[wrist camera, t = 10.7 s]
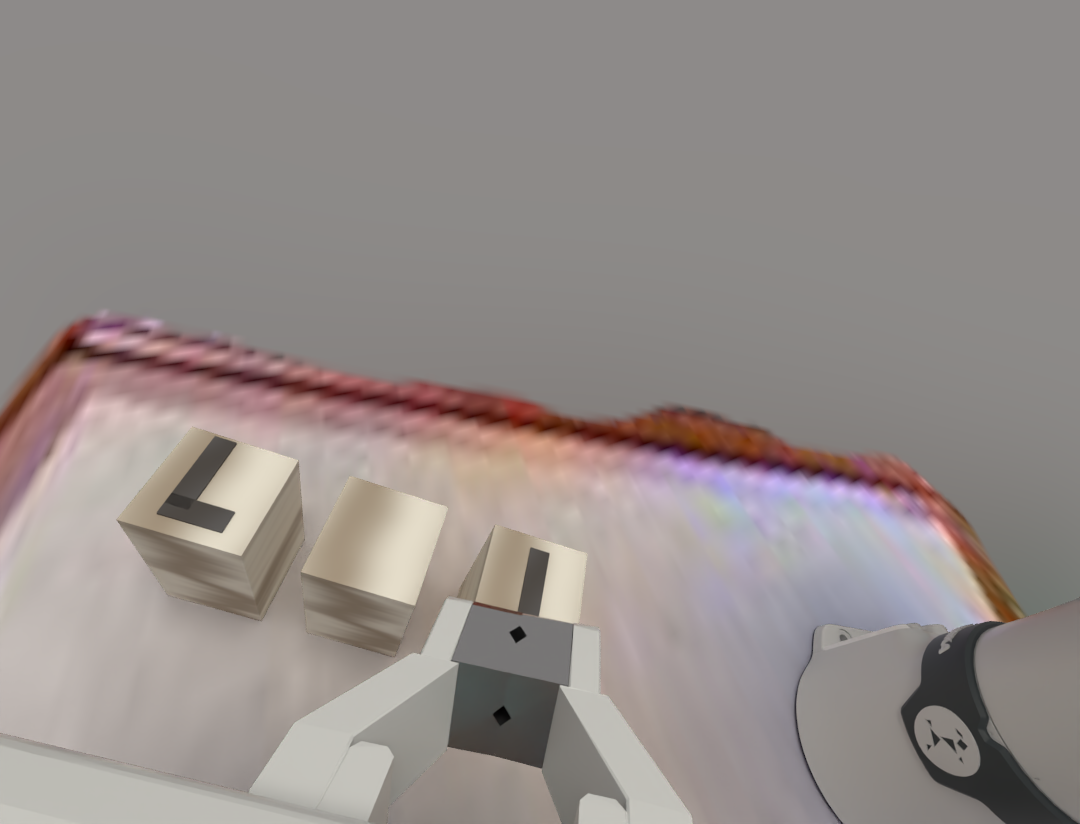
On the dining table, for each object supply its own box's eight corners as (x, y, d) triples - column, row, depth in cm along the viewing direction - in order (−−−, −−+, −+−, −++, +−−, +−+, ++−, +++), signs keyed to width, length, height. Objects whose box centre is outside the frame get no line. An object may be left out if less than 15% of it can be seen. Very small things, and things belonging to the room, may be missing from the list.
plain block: (422, 574, 39) (448, 507, 31) (394, 657, 35) (414, 605, 27) (344, 550, 38) (349, 475, 30) (306, 632, 34) (300, 572, 26)
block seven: (305, 537, 38) (299, 457, 30) (261, 621, 34) (240, 554, 26) (222, 512, 37) (193, 423, 29) (167, 595, 33) (115, 518, 25)
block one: (534, 607, 40) (588, 550, 32) (518, 694, 36) (576, 654, 28) (460, 585, 39) (496, 521, 31) (436, 671, 35) (469, 623, 27)
